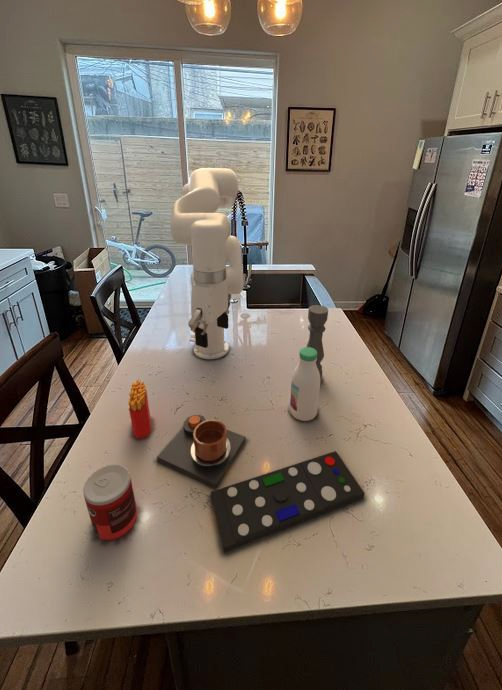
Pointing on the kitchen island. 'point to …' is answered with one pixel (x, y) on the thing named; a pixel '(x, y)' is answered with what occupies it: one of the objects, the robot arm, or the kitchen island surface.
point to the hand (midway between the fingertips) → (212, 336)
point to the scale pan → (211, 462)
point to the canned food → (110, 502)
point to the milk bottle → (305, 386)
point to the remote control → (282, 499)
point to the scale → (181, 460)
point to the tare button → (194, 421)
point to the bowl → (210, 439)
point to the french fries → (139, 410)
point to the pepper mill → (317, 332)
